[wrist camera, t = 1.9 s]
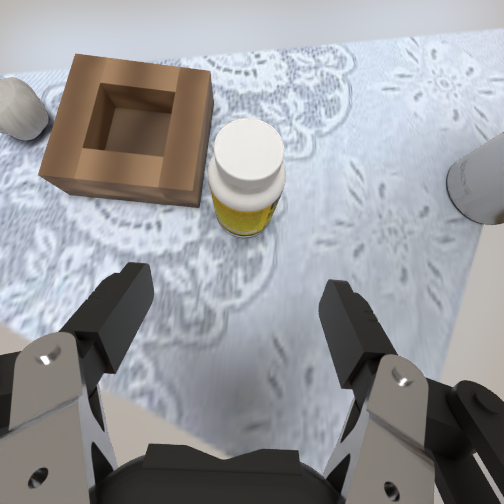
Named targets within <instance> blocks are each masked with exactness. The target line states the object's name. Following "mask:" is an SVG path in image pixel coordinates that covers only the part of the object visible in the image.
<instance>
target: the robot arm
mask: <svg viewBox="0 0 504 504" xmlns="http://www.w3.org/2000/svg"><path fill="white" fill-rule="evenodd" d="M447 186H448V191H449V194H450V196H451V199H452V201H453V202H454V204H455V205H456V207H457V208H458V209H459V210H460V211H461V212H462V213H463V214H464V215H466V216H467V217H468V218H470V219H472V220H474V221H476V222H479V223H482V224H486V225H497V224H502V223H504V132H503V133H501V134H500V135H498V136H496V137H495V138H493V139H492V140H490V141H488V142H487V143H485V144H484V145H482V146H481V147H479V148H477V149H476V150H474V151H473V152H471V153H470V154H468V155H466V156H465V157H463V158H462V159H460V160H458V161H457V162H456V163H455V164H454V165H453V166H452V167H451V169H450V171H449V174H448V178H447ZM153 298H154V287H153V281H152V276H151V270H150V266H149V264H147V263H135V262H129V263H127V264H126V266H125V267H124V268H123V269H122V271H121V272H120V273H114V274H112V275H110V276H109V277H107V278H106V279H104V280H103V281H102V282H101V283H100V284H99V285H98V287H97V288H96V289H95V291H93V292H92V294H91V295H90V296H89V297H88V300H87V299H86V300H85V302H84V303H83V304H82V305H81V306H80V307H79V309H78V310H77V311H76V312H75V313H74V314H73V316H72V317H71V318H70V319H69V320H68V321H67V323H66V324H65V325H64V326H63V327H62V328H61V329H60V331H59V332H56V333H51V334H48V335H45V336H43V337H40V338H38V339H37V340H35V341H33V342H32V343H30V344H29V345H28V346H27V347H25V348H24V349H23V350H22V351H19V352H14V353H9V354H4V355H0V504H434V481H435V484H436V486H437V488H438V491H439V493H440V495H441V497H442V500H443V502H444V504H501V503H500V501H499V499H498V498H497V496H496V494H495V493H494V491H493V489H492V487H491V486H490V484H489V482H488V481H487V479H486V477H485V475H484V474H483V472H482V470H481V468H480V467H479V465H478V463H477V462H476V460H475V458H474V457H473V455H472V454H474V453H476V452H477V453H478V455H479V456H480V458H481V460H482V461H483V463H484V465H485V466H486V468H487V470H488V471H489V473H490V475H491V476H492V478H493V480H494V481H495V483H496V485H497V486H498V488H499V490H500V492H501V493H502V494H503V497H504V402H503V401H502V400H501V399H500V398H499V397H498V396H497V395H496V394H494V393H493V392H491V391H490V390H488V389H487V388H486V387H484V386H482V385H480V384H478V383H475V382H472V381H467V380H464V381H460V382H459V383H458V384H456V385H455V387H450V386H448V385H445V384H442V383H439V382H437V381H434V380H431V379H428V378H426V377H425V376H424V375H423V373H422V372H421V371H420V370H419V369H418V368H417V367H416V366H415V365H414V364H413V363H411V362H410V361H408V360H407V359H405V358H403V357H401V356H398V354H397V352H396V351H395V349H394V347H393V345H392V344H391V342H390V340H389V339H388V337H387V335H386V333H385V332H384V330H383V328H382V326H381V325H380V323H379V322H378V319H377V318H376V316H375V314H373V311H372V309H371V307H370V306H369V304H368V302H367V301H366V300H365V299H364V298H363V297H362V296H361V295H360V294H358V293H354V292H353V290H352V288H351V286H350V285H349V283H348V282H347V281H343V280H331V279H330V280H328V282H327V284H326V287H325V289H324V292H323V295H322V297H321V300H320V303H319V318H320V321H321V324H322V327H323V331H324V334H325V337H326V340H327V344H328V347H329V350H330V353H331V357H332V360H333V363H334V366H335V370H336V373H337V376H338V379H339V382H340V386H341V389H352V390H353V393H354V396H355V397H354V398H353V400H352V403H351V405H350V408H349V411H348V414H347V417H346V419H345V422H344V425H343V428H342V431H341V433H340V436H339V439H338V442H337V444H336V447H335V449H334V451H333V453H332V455H331V457H330V459H329V461H328V463H327V465H326V468H325V470H324V473H323V475H321V474H319V473H318V472H317V471H315V470H314V469H313V468H311V467H309V466H308V465H306V464H304V463H302V462H300V460H299V452H298V450H278V449H260V450H257V451H253V452H250V453H247V454H243V455H240V456H237V457H233V458H230V459H226V460H222V459H219V458H217V457H214V456H211V455H209V454H207V453H204V452H202V451H199V450H197V449H194V448H192V447H190V446H187V445H170V444H149V445H148V448H147V451H146V455H143V456H140V457H138V458H135V459H133V460H131V461H129V462H127V463H125V464H124V465H122V466H120V467H119V468H118V465H117V461H116V457H115V453H114V450H113V447H112V444H111V441H110V438H109V434H108V429H107V424H106V418H105V413H104V408H103V403H102V397H101V392H100V387H99V384H98V382H99V381H100V379H101V377H102V375H103V373H109V374H116V372H117V370H118V368H119V366H120V364H121V362H122V360H123V358H124V356H125V354H126V352H127V351H128V349H129V347H130V345H131V343H132V341H133V339H134V337H135V335H136V333H137V331H138V329H139V327H140V325H141V323H142V321H143V319H144V318H145V316H146V314H147V312H148V310H149V308H150V306H151V304H152V301H153Z"/></svg>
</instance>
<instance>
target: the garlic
mask: <svg viewBox="0 0 504 504" xmlns="http://www.w3.org/2000/svg"><path fill="white" fill-rule="evenodd" d="M47 124H48V114H47V111H46V110H45V108H44V106H43V104H42V102H41V100H40V99H39V98H38V97H37V95H36V94H35V92H34V91H33V90H32V88H31V87H30V86H29V85H28V84H26V83H25V82H23V81H22V80H20V79H18V78H14V77H11V78H7V79H0V133H3V134H7V135H12V136H13V137H15V138H17V139H20V140H31V139H34V138H36V137H37V136H38V135H39V134H40V133H41V132H42V130H43V129H44V128H45V127H46V126H47Z"/></svg>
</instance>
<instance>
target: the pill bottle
mask: <svg viewBox="0 0 504 504" xmlns="http://www.w3.org/2000/svg"><path fill="white" fill-rule="evenodd" d="M283 158H284V144H283V141H282V139H281V137H280V135H279V134H278V132H277V131H276V130H275V129H274V128H273V127H272V126H270V125H269V124H267V123H265V122H263V121H261V120H258V119H252V118H243V119H238V120H235V121H232V122H230V123H228V124H227V125H226V126H224V127H223V128H222V129H221V130H220V132H219V133H218V135H217V137H216V139H215V142H214V154H213V156H212V158H211V160H210V163H209V167H208V181H209V186H210V190H211V194H212V199H213V203H214V208H215V212H216V216H217V219H218V221H219V223H220V225H221V226H222V227H223V229H224V230H226V231H227V232H228V233H230V234H232V235H234V236H237V237H252V236H255V235H257V234H259V233H261V232H262V231H263V230H264V229H265V228H266V227H267V226H268V224H269V222H270V220H271V218H272V215H273V213H274V211H275V208H276V206H277V203H278V201H279V199H280V196H281V194H282V191H283V189H284V185H285V181H286V170H285V166H284V163H283Z"/></svg>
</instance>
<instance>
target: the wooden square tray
mask: <svg viewBox="0 0 504 504" xmlns="http://www.w3.org/2000/svg"><path fill="white" fill-rule="evenodd" d="M213 105H214V99H213V91H212V82H211V74H210V71H206V70H199V69H191V68H183V67H175V66H167V65H160V64H152V63H144V62H136V61H129V60H121V59H113V58H105V57H98V56H89V55H82V54H75V56H74V60H73V63H72V66H71V69H70V73H69V76H68V79H67V82H66V86H65V89H64V92H63V95H62V99H61V102H60V105H59V108H58V112H57V115H56V118H55V121H54V125H53V128H52V131H51V134H50V137H49V141H48V144H47V147H46V150H45V154H44V157H43V160H42V163H41V167H40V170H39V173H38V175H39V176H41V177H42V178H44V179H45V180H47V181H48V182H50V183H52V184H53V185H55V186H56V187H58V188H60V189H61V190H63V191H64V192H66V193H68V194H69V195H77V196H87V197H97V198H107V199H117V200H127V201H137V202H147V203H157V204H167V205H177V206H187V207H197V208H199V207H200V200H201V193H202V185H203V178H204V171H205V164H206V156H207V149H208V142H209V135H210V127H211V120H212V113H213Z"/></svg>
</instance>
